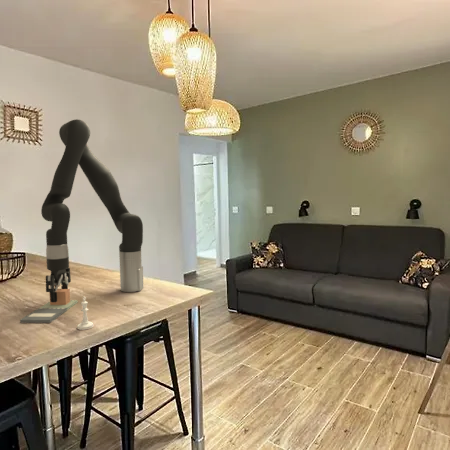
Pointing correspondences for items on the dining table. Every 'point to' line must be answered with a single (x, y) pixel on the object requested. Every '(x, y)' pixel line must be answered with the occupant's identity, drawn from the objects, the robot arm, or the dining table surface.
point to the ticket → (43, 315)
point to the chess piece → (84, 317)
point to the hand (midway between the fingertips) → (59, 298)
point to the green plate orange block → (61, 300)
